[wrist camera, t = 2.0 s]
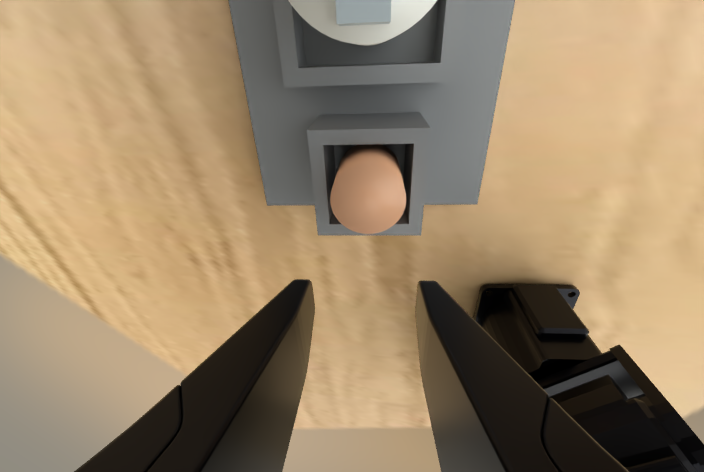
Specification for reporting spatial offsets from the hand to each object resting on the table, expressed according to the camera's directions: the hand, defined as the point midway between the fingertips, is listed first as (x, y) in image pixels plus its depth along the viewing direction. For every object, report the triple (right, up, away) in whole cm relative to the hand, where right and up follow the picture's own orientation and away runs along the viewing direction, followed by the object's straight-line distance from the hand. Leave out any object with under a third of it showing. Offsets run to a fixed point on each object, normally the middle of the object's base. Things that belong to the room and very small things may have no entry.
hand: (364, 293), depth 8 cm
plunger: (0, +4, +7) cm, 9 cm away
